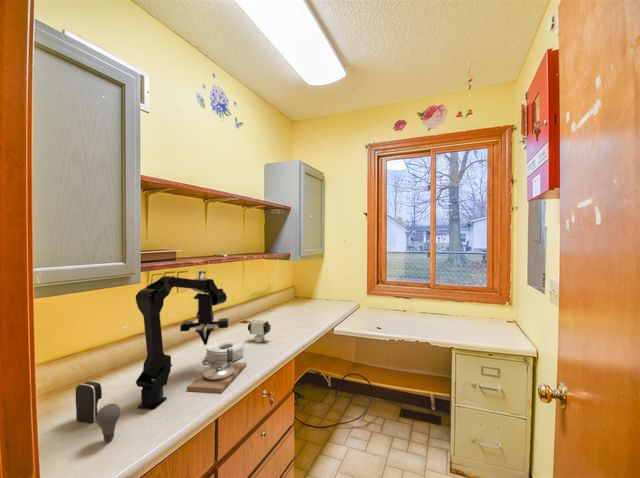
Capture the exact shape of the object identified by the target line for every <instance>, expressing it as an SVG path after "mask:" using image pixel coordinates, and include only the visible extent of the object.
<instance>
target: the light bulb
mask: <svg viewBox="0 0 640 478" xmlns="http://www.w3.org/2000/svg"><path fill="white" fill-rule="evenodd" d="M120 416H121V408H120V406H118V405H117V404H115V403H108V404H106V405H103V407H101V408H100V409H99V410H98V411H97V416H96V421H95V422H96V424H97V425H98V426H99V428H100V429H101V431H102V435H103V441H104V442H110V441H112V440H113V438H115V430H116V424H117V422H118V420H119V418H120Z"/></svg>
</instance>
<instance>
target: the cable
mask: <svg viewBox="0 0 640 478" xmlns="http://www.w3.org/2000/svg"><path fill="white" fill-rule="evenodd" d="M228 349H233V362H236V361H237V360H239V359H241V358H242V357H243V355H244V354H245V351H244V343H243V341H240V340H235V339H234V340H233V339H231V340H229V339H228V340H222V341H218V342H215V343H211V344H210V345H208V346H207V347H206V352H205V358H204V359H202V362H203V365H213V364H214V363H216V362H227V350H228Z"/></svg>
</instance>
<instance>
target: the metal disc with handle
mask: <svg viewBox="0 0 640 478" xmlns="http://www.w3.org/2000/svg"><path fill="white" fill-rule="evenodd" d="M231 362H234V361H233V349H228V350H227V363H221V364H215V365H213V364H211V365H210V366H208V367H206V368H205V369H204V370H203V372H202V374H203V377H204V379H206V380H210V381H217V380H222V379H225V378H228V377H230V376H231V375H233V373H234V366H233V365H232V364H231Z"/></svg>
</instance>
